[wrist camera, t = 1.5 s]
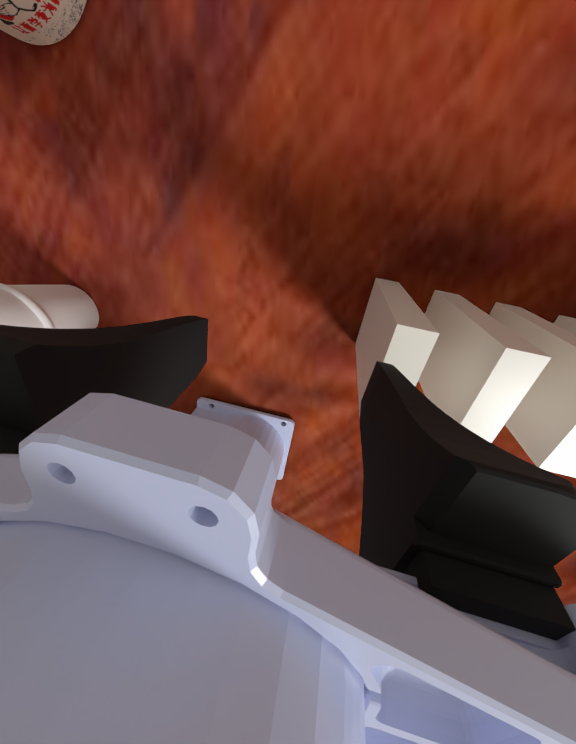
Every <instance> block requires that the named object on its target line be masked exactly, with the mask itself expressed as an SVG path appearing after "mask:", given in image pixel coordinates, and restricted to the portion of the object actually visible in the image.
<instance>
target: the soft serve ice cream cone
mask: <svg viewBox="0 0 576 744" xmlns="http://www.w3.org/2000/svg"><path fill="white" fill-rule="evenodd" d="M98 323H99V313H98V309H97V307H96V305H95V303H94V302H93V300H92V299H91V298H90V296H89V295H88V294H86V293H85V292H84V291H83V290H81V289H79V288H77V287H75V286H72V285H6V284H2V283H0V325H8V326H19V327H33V328H54V329H85V328H96V327H97V326H98Z"/></svg>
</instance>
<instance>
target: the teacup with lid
mask: <svg viewBox="0 0 576 744" xmlns="http://www.w3.org/2000/svg"><path fill="white" fill-rule="evenodd" d="M86 1H87V0H0V30H2V31H4V32H6V33H8V34H9V35H11V36H13V37H15V38H17V39H19V40H21V41H24V42H26V43H29V44H34V45H50V44H54V43H57V42H59V41H61V40H62V39H64V38H65V37H67V36H68V35H69V34H70V33H71V32H72V30H73V29H74V28H75V27H76V25H77V23H78V22H79V20H80V18H81V16H82V14H83V11H84V8H85V5H86Z"/></svg>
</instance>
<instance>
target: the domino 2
mask: <svg viewBox="0 0 576 744" xmlns="http://www.w3.org/2000/svg"><path fill="white" fill-rule="evenodd" d="M425 315H426V317H427V318H428V319H429V320H430V322H431V323H432V324H433V325H434V327H435V328H436V329H437V330H438V332H439V333H440V334H439V336H438V338H437V341H436V343H435V345H434V347H433V349H432V351H431V354H430V356H429V358H428V360H427V362H426V364H425V367H424V369H423V371H422V373H421V375H420V378H419V383H420V385H421V387H422V389H423V392H424V394H425V396H426V397H427V398H428V399H429V400H430V401H431V402H432V403H434V404H435V405H436V406H437V407H438V408H439V409H441V410H442V411H443V412H445V413H446V414H447V415H449V416H450V417H451V418H453V419H454V420H455V421H457V422H458V423H460V424H461V425H463V426H464V427H466V428H467V429H469V430H470V431H472V432H473V433H475V434H477V435H478V436H480V437H481V438H483V439H485V440H486V441H488V442H490V443H492V442H493V440H494V439H495V437H496V436H497V435H498V433H499V432H500V430H501V429H502V427H503V426H504V425H505V423H506V422H507V420H508V419H509V417H510V416H511V415H512V413H513V412H514V410H515V409H516V408H517V406H518V405H519V403H520V402H521V400H522V399H523V398H524V396H525V395H526V393H527V392H528V390H529V389H530V388H531V386H532V385H533V383H534V382H535V380H536V379H537V378H538V376H539V375H540V373H541V372H542V371H543V369H544V368H545V366H546V365H547V363H548V362H549V361H550V359H551V358H552V357H550V356H549V355H547V354H546V353H544V352H543V351H541V350H540V349H538V348H537V347H535V346H534V345H532V344H531V343H529V342H528V341H526V340H525V339H524V338H522V337H521V336H519V335H518V334H516V333H515V332H513V331H512V330H510V329H509V328H507V327H506V326H504V325H503V324H501V323H500V322H499V321H497V320H496V319H494V318H493V317H491V316H490V315H488V314H487V313H485V312H484V311H482V310H481V309H479V308H478V307H476V306H475V305H473V304H472V303H471V302H469V301H468V300H466V299H465V298H463V297H462V296H460V295H458V294H454V293H449V292H444V291H439V290H434V293H433V295H432V297H431V300H430V302H429V305H428V307H427V309H426V312H425Z"/></svg>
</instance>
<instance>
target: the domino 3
mask: <svg viewBox="0 0 576 744" xmlns="http://www.w3.org/2000/svg"><path fill="white" fill-rule="evenodd" d="M489 315H490V316H491V317H493V318H494V319H496V320H497V321H499V322H500V323H501V324H503V325H504V326H506V327H507V328H509V329H510V330H512V331H513V332H515V333H516V334H518V335H519V336H521V337H522V338H524V339H525V340H526V341H528V342H529V343H531V344H532V345H534V346H535V347H537V348H538V349H540V350H541V351H543V352H544V353H546V354H547V355H549V356H550V357H552V358H551V359H550V361H549V362H548V363H547V365H546V366H545V368H544V369H543V371H542V372H541V373H540V375H539V376H538V378H537V379H536V380H535V382H534V383H533V385H532V386H531V388H530V389H529V390H528V392H527V393H526V395H525V396H524V398H523V399H522V400H521V402H520V403H519V405H518V406H517V408H516V409H515V410H514V412H513V413H512V415H511V416H510V417H509V419H508V420H507V422H506V423H505V426H506V427H507V428H508V430H509V431H510V432H511V434H512V435H513V436H514V437H515V439H516V440H517V441H518V443H519V444H520V445H521V447H522V448H523V449H524V451H525V452H526V453H527V455H528V456H529V457H530V458H531V460H532V461H533V462H534V464H535V465H536V466H537V467H539V468H541V469H544V470H546V471H550V472H554V473H558V474H562V475H567V476H571V477H575V478H576V335H574V334H572V333H570V332H568V331H567V330H565V329H563V328H561V327H559V326H557V325H555V324H553V323H551V322H549V321H547V320H545V319H543V318H541V317H539V316H537V315H535V314H533V313H531V312H529V311H527V310H525V309H523V308H521V307H518V306H513V305H508V304H503V303H498V302H496V303H495V304H494V306H493V308H492V310H491V312H490V314H489Z"/></svg>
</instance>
